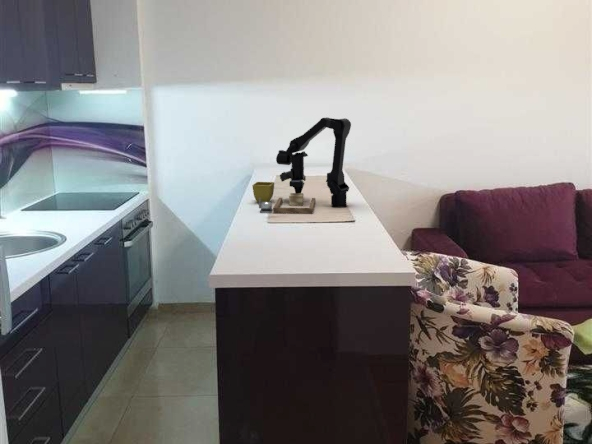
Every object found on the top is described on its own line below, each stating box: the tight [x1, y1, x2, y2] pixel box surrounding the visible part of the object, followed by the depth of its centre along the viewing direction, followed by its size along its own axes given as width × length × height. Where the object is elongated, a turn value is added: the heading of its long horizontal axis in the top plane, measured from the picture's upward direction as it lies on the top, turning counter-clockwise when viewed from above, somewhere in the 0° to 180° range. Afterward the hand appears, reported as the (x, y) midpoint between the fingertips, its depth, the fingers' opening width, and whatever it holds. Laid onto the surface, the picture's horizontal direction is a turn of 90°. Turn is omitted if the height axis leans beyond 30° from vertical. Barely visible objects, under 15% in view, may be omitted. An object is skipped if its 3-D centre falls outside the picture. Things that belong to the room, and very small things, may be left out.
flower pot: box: [252, 181, 275, 204], centre depth 295 cm, size 9×9×9 cm
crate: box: [288, 192, 305, 207], centre depth 290 cm, size 6×6×5 cm
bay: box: [272, 197, 316, 215], centre depth 283 cm, size 17×23×2 cm
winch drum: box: [258, 198, 273, 214], centre depth 275 cm, size 6×5×6 cm
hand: (297, 198), depth 297 cm, fingers closed
